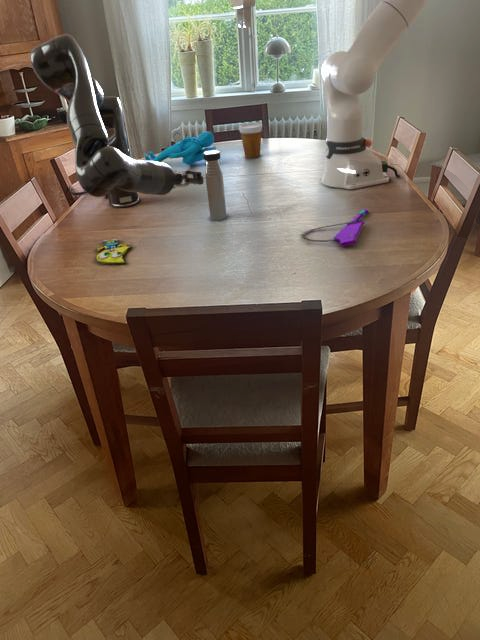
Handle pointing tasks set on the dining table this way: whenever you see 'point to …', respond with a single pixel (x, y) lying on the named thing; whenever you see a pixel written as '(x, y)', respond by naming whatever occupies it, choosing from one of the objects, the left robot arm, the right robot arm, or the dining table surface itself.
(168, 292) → the dining table surface
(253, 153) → the beer glass
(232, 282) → the dining table surface
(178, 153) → the toy
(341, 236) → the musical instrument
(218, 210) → the bottle
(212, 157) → the cap
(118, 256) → the toy
